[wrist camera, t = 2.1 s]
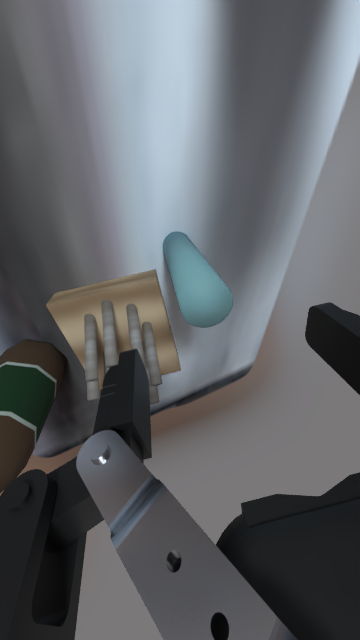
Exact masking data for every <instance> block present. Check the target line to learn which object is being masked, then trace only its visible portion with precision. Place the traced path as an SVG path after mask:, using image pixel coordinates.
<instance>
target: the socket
mask: <svg viewBox="0 0 360 640" xmlns="http://www.w3.org/2000/svg"><path fill="white" fill-rule="evenodd" d="M46 306H47V308H48V310H49V311H50V313H51V315H52V316H53V318H54V320H55V321H56V323H57V324H58V326H59V328H60V329H61V331H62V333H63V334H64V336H65V338H66V339H67V341H68V343H69V344H70V346H71V348H72V349H73V351H74V352H75V354H76V356H77V357H78V359H79V361H80V362H81V364H82V366H83V367H84V369H85V378H86V381H87V401H95V400H98V399H100V397H99V390H102V389H103V388H102V385H103V380H104V376H105V375H106V373H107V371H108V370H109V368H110V367H111V366H115V365H118V361H119V354H120V352H124V351H128V350H132V349H138V351H139V354H140V356H141V359H142V362H143V364H144V367H145V369H146V372H147V375H148V380H149V394H150V404H154V403H157V402H159V397H158V391H157V385H160V384H162V379H161V375H164V374H168V373H172V372H176V371H180V370H181V368H180V363H179V358H178V353H177V350H176V346H175V342H174V338H173V334H172V331H171V327H170V323H169V319H168V315H167V312H166V308H165V304H164V300H163V296H162V293H161V289H160V285H159V281H158V277H157V273H156V270H151V271H147V272H142V273H138V274H134V275H130V276H125V277H121V278H117V279H113V280H108V281H104V282H100V283H96V284H91V285H87V286H83V287H79V288H74V289H70V290H66V291H62V292H57V293H55V294H54V295H53V296H52V298H51V299H50V300H49V302H48V303H47V304H46Z"/></svg>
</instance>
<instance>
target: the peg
mask: <svg viewBox="0 0 360 640" xmlns="http://www.w3.org/2000/svg"><path fill="white" fill-rule="evenodd" d="M163 251H164V255H165V258H166V261H167V265H168V268H169V272H170V275H171V279H172V282H173V286H174V289H175V292H176V296H177V299H178V303H179V306H180V310H181V313H182V316H183V318H184V319H185V320H186V321H187V322H188V323H189V324H191V325H193V326H196V327H202V328H204V327H211V326H214V325H216V324H218V323H220V322H221V321H223V320H224V319H225V318H226V317H227V315H228V314H229V312H230V311H231V308H232V304H233V297H232V293H231V291H230V290H229V288H228V287H227V286H226V284H225V283H224V282H223V281H222V279H221V278H220V277H219V275H218V274H217V273H216V272H215V270H214V269H213V268H212V267H211V265H210V264H209V263H208V262H207V260H206V259H205V258H204V257H203V255H202V254H201V253H200V251H199V250H198V249H197V248H196V246H195V245H194V244H193V243H192V241H191V240H190V239H189V238H188V236H187V235H186V234H184V233H182V232H172V233H170V234H169V235H168V236H167V237H166V238H165V240H164V242H163Z"/></svg>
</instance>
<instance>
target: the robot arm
mask: <svg viewBox="0 0 360 640" xmlns="http://www.w3.org/2000/svg"><path fill="white" fill-rule="evenodd" d="M305 337H306V340H307V343H308V344H309V346H310V347H311V348H312V349H313V350H314V351H315V352H316V353H317V354H318V355H320V357H321V358H322V359H323V360H324V361H325V362H327V364H328V365H330V366H331V367H332V368H333V369H334V370H335V371H336V372H337V373H338V374H339V375H340V376H341V377H342V378H343V379H344V380H345V381H346V382H347V383H348V384H349V385H350V386H351V387H352V388H353V389H354V390H355V391H356V392H357V393H358V394H360V316H359V315H357V314H354V313H351V312H348V311H345V310H342V309H340V308H339V307H337V306H336V305H334V304H333V303H324V304H320V305H316V306H312V307H310V309H309V312H308V319H307V326H306V332H305ZM102 388H103V389H102V391H101V398H100V401H99V406H98V411H97V416H96V421H95V426H94V431H93V435H92V436H91V437H90V438H89V439H88V440H87V441H86V442H85V443H84V444H83V446H82V448H81V449H80V451H79V453H78V456H77V457H75V458H74V459H72V460H71V461H69V462H67V463H66V464H64V465H62V466H61V467H59V468H58V469H55V470H54V471H52V472H50V473H49V474H46V473H45V472H43V471H42V470H39V469H34V470H30V471H27V472H25V473H23V474H22V475H20V476H19V477H17V478H16V479H15V480H14V481H12V482H11V483H10V484H9V485H8V487H7V488H6V489H5V490H4V492H3V493H2V494H1V496H0V640H74V638H75V630H76V621H77V612H78V603H79V595H80V586H81V578H82V568H83V560H84V552H85V543H86V534H87V531H89V530H90V529H91V528H93V527H94V526H96V525H97V524H98V523H100V522H101V521H103V520H105V522H106V523H107V525H108V527H109V529H110V531H111V540H112V542H113V545H114V547H115V549H116V551H117V553H118V555H119V557H120V559H121V561H122V563H123V565H124V566H125V568H126V570H127V572H128V574H129V576H130V578H131V579H132V581H133V583H134V585H135V587H136V589H137V591H138V593H139V594H140V596H141V598H142V600H143V602H144V604H145V606H146V607H147V609H148V611H149V613H150V615H151V617H152V619H153V620H154V622H155V624H156V626H157V628H158V630H159V632H160V633H161V636H162V637H163V639H164V640H360V473H356V474H352V475H349V476H348V477H347V478H345V479H344V480H343V481H341V482H340V483H338V484H337V485H336V486H334V487H333V488H332V489H330V490H329V491H327V492H326V493H325V494H323V495H321V496H301V495H285V494H284V495H283V494H275V495H271V496H267V497H263V498H260V499H256V500H252V501H248V502H244V503H241V507H242V514H241V515H240V516H238V517H236V518H235V519H234V520H233V521H232V522H231V523H230V524H229V525H228V527H227V528H226V529H225V530H224V532H223V533H222V535H221V537H220V538H219V540H218V542H217V544H216V545H215V544H214V542H213V541H212V540H211V539H210V538H209V537H208V536H207V534H206V533H205V532H204V531H203V530H202V528H201V527H200V526H199V525H198V524H197V523H196V522H195V520H194V519H193V518H192V517H191V516H190V515H189V514H188V512H187V511H186V510H185V509H184V508H183V506H182V505H181V504H180V503H179V502H178V500H177V499H176V498H175V497H174V496H173V495H172V494H171V492H170V491H169V490H168V489H167V488H166V487H165V486H164V485H163V483H162V482H161V481H160V480H157V479H156V478H155V477H154V476H153V475H152V474H151V472H150V471H149V470H148V469H147V468H146V466H145V465H144V464H143V460H144V459H148V458H151V456H152V453H151V424H150V394H149V380H148V375H147V372H146V369H145V367H144V364H143V362H142V359H141V356H140V354H139V351H138V349H132V350H128V351H124V352H120V354H119V361H118V365H115V366H111V367H110V368H109V370H108V371H107V373H106V375H105V376H104V380H103V385H102Z"/></svg>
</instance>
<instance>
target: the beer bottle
mask: <svg viewBox="0 0 360 640" xmlns="http://www.w3.org/2000/svg"><path fill="white" fill-rule="evenodd" d="M64 369H65V356H64V355H63V354H62V353H61V352H60V351H58V350H57V349H56V348H55V347H54V346H53V345H52V344H51V343H46V342H40V341H33V340H27V339H26V340H24V341H22V342H20V343H18V344H16V345H15V346H13V347H11V348H9V349H7V350H6V351H5V352H4V353H3V354H2V355H1V356H0V493H1V492H2V491H4V490H5V489H6V488H7V487H8V485H9V484H10V483H11V482H12V481H14V480H15V479H16V477H17V476H18V475H19V474H20V473H21V471H22V470H23V469H24V468H25V466H26V464H27V462H28V460H29V458H30V456H31V454H32V452H33V450H34V448H35V446H36V443H37V441H38V438H39V436H40V433H41V431H42V428H43V426H44V423H45V421H46V419H47V416H48V414H49V411H50V409H51V406H52V404H53V401H54V399H55V396H56V394H57V391H58V389H59V386H60V384H61V381H62V378H63V375H64Z"/></svg>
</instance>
